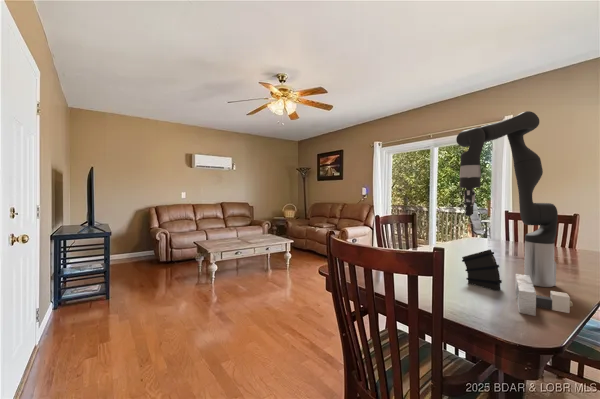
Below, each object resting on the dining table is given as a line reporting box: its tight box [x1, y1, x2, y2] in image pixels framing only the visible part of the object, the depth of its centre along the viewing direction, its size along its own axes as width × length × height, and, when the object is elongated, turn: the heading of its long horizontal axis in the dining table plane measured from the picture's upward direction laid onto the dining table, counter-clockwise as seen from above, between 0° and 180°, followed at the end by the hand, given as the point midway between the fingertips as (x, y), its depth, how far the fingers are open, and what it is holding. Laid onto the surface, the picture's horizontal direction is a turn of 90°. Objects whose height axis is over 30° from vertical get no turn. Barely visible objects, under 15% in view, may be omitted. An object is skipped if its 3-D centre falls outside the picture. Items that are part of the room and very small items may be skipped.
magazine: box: [461, 249, 503, 292], centre depth 111 cm, size 4×13×15 cm, turn 33°
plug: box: [536, 290, 573, 314], centre depth 91 cm, size 13×4×5 cm, turn 55°
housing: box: [514, 273, 537, 317], centre depth 94 cm, size 4×22×7 cm, turn 144°
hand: (469, 214), depth 117 cm, fingers open, 8 cm apart
